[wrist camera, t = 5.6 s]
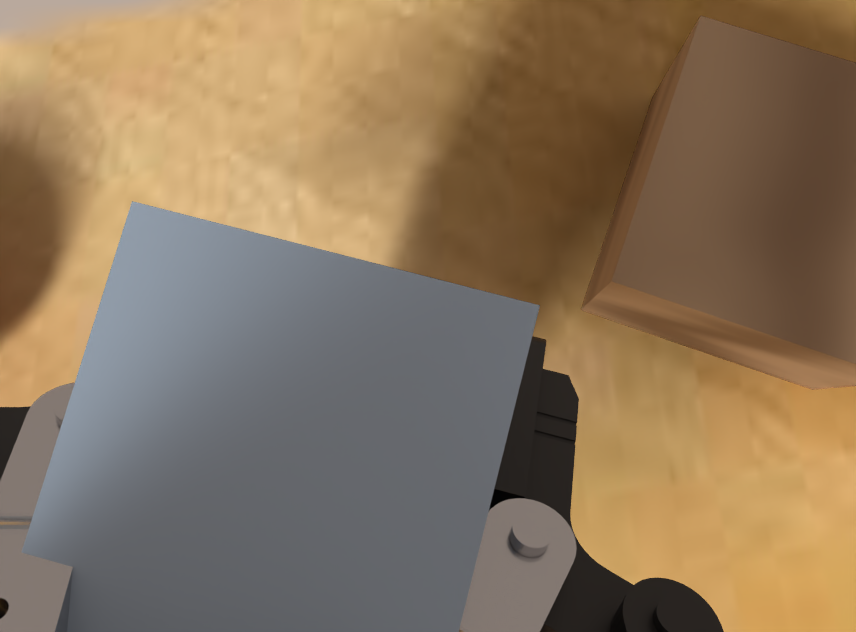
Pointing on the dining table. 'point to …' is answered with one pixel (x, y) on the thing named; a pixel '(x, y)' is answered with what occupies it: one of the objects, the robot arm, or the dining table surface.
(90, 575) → the pillar
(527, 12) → the dining table surface
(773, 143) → the walnut block
